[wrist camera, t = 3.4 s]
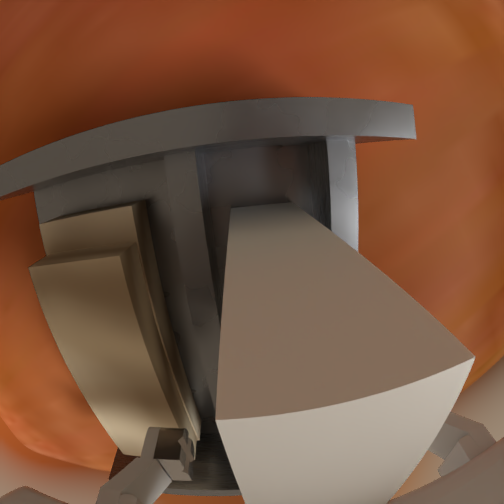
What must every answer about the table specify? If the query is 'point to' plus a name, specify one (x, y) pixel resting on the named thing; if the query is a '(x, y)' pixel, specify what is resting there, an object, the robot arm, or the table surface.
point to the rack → (210, 207)
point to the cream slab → (324, 366)
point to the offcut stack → (114, 322)
